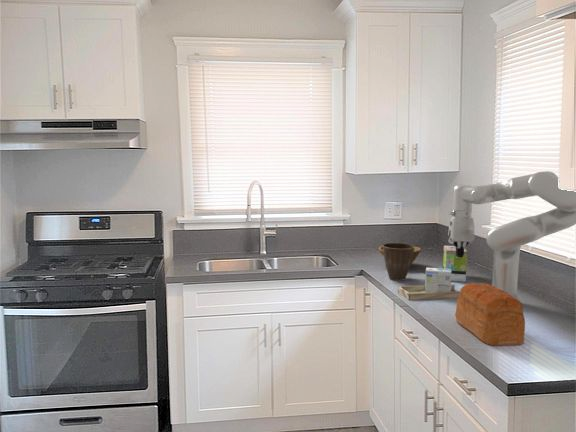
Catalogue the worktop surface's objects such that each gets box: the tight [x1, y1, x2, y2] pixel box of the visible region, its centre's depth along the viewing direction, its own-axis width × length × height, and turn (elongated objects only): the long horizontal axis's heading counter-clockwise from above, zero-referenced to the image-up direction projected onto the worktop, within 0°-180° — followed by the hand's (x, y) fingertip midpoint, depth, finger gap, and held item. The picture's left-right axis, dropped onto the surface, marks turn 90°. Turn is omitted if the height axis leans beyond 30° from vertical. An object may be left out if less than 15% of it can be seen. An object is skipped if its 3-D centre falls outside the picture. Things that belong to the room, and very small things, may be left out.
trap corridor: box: [397, 284, 460, 301], centre depth 230 cm, size 12×26×2 cm, turn 100°
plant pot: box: [382, 242, 415, 281], centre depth 258 cm, size 15×15×16 cm
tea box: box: [442, 245, 468, 282], centre depth 261 cm, size 15×10×15 cm
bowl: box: [378, 245, 421, 264], centre depth 285 cm, size 22×23×10 cm
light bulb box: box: [424, 267, 452, 293], centre depth 230 cm, size 11×7×11 cm, turn 74°
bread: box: [454, 282, 526, 346], centre depth 182 cm, size 14×27×15 cm, turn 6°
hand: (459, 256), depth 230 cm, fingers closed
